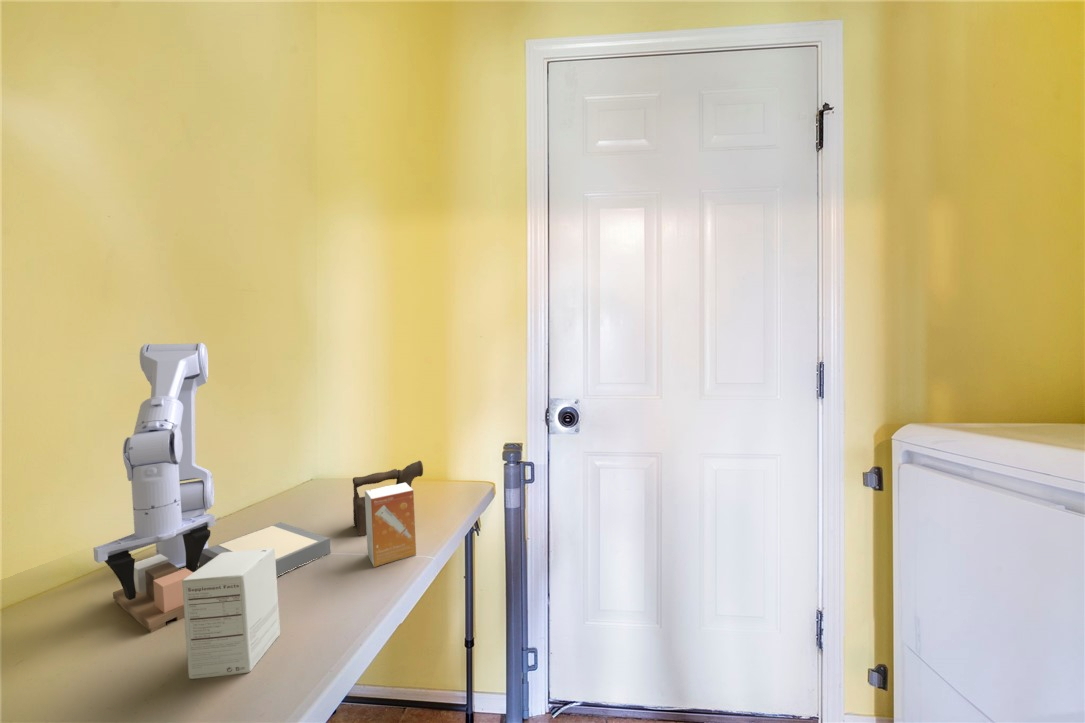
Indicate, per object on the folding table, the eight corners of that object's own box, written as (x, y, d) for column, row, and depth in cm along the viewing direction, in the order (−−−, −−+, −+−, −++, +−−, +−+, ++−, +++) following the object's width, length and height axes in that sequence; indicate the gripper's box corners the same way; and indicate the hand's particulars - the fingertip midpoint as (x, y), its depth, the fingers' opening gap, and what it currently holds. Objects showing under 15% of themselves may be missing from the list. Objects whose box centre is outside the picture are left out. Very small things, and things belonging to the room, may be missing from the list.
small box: (373, 568, 75) (370, 498, 75) (367, 555, 80) (363, 490, 80) (417, 555, 79) (414, 489, 79) (408, 543, 85) (405, 481, 85)
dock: (199, 566, 79) (198, 550, 79) (281, 535, 92) (280, 521, 92) (246, 591, 69) (245, 573, 69) (330, 552, 82) (329, 537, 82)
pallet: (113, 604, 68) (111, 568, 68) (174, 580, 75) (172, 548, 75) (149, 635, 59) (147, 595, 59) (215, 605, 66) (213, 569, 66)
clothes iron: (428, 519, 97) (425, 464, 97) (355, 537, 89) (352, 476, 88) (420, 509, 104) (417, 457, 104) (351, 525, 95) (348, 469, 95)
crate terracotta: (154, 605, 63) (153, 580, 63) (187, 592, 67) (185, 568, 67) (164, 612, 61) (162, 586, 61) (197, 598, 65) (195, 573, 65)
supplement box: (227, 639, 57) (221, 551, 57) (282, 634, 58) (277, 546, 58) (185, 681, 50) (179, 579, 50) (249, 674, 50) (243, 574, 50)
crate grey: (130, 587, 69) (129, 564, 69) (161, 576, 73) (160, 554, 73) (139, 593, 67) (137, 569, 67) (170, 581, 71) (169, 558, 71)
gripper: (101, 524, 59) (107, 617, 59) (220, 493, 71) (225, 569, 71) (87, 516, 62) (93, 604, 62) (203, 487, 75) (207, 560, 75)
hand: (162, 585), depth 67 cm, fingers open, 7 cm apart
